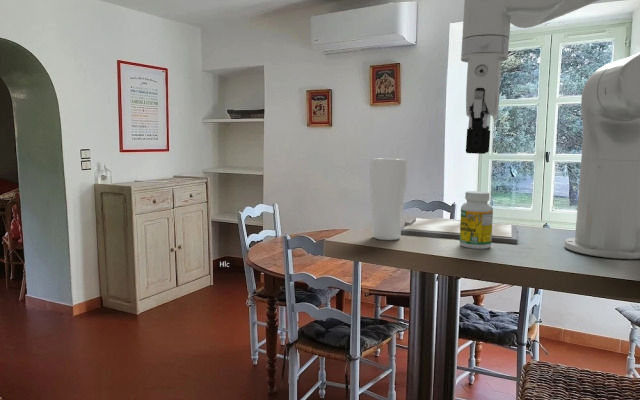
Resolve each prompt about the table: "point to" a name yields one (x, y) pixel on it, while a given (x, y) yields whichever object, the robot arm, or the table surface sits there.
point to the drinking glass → (387, 196)
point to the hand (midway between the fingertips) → (477, 152)
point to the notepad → (455, 229)
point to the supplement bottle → (476, 221)
